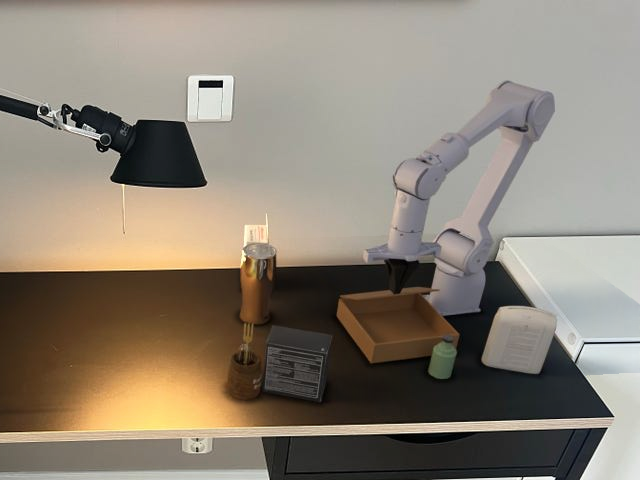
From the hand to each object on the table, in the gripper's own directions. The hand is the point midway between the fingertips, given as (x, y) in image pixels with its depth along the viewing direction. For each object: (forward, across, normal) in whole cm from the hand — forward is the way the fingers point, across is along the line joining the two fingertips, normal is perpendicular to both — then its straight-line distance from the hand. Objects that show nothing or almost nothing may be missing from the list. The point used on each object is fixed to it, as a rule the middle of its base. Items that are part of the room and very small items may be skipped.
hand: (394, 291), depth 144 cm
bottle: (+8, +3, -16) cm, 18 cm away
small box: (+9, -24, -15) cm, 30 cm away
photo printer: (+9, +16, -16) cm, 25 cm away
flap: (+2, 0, +2) cm, 3 cm away
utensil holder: (+9, -34, -14) cm, 37 cm away
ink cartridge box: (+9, -20, +23) cm, 32 cm away
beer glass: (+9, -24, +9) cm, 28 cm away
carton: (+8, 0, -3) cm, 9 cm away
